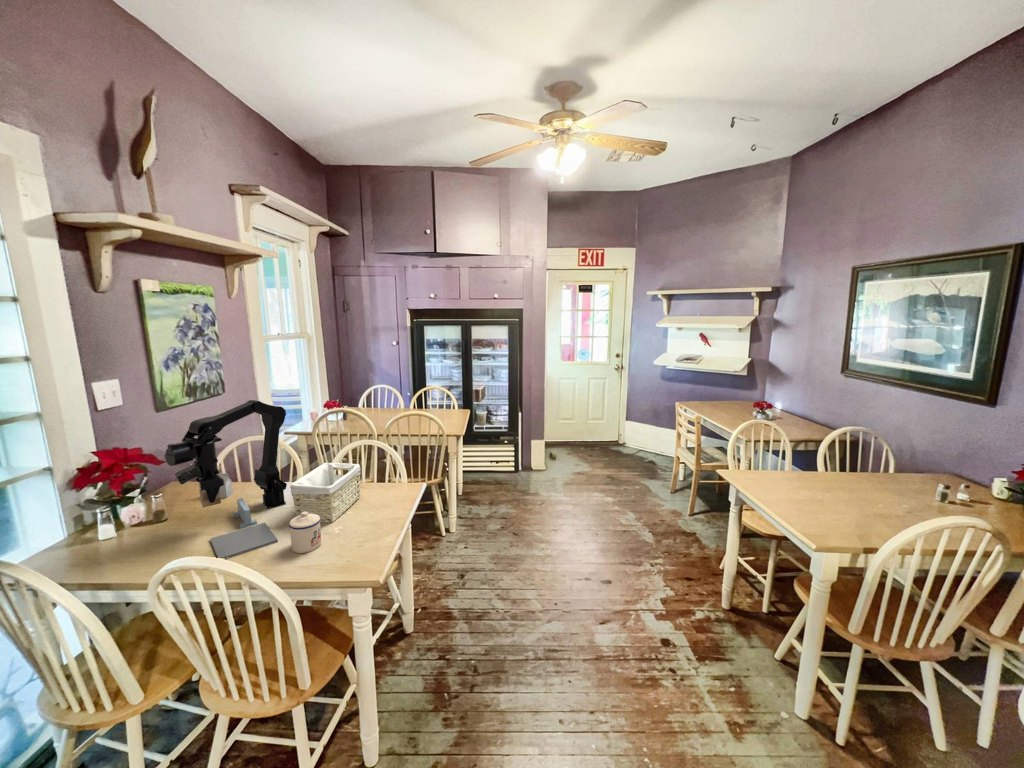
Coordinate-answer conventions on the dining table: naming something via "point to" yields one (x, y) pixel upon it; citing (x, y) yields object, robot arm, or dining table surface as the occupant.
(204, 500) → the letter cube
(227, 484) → the grey block
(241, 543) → the tile
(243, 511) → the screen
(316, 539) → the lidded ceramic jar
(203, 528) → the dining table surface
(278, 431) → the robot arm
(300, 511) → the storage basket
